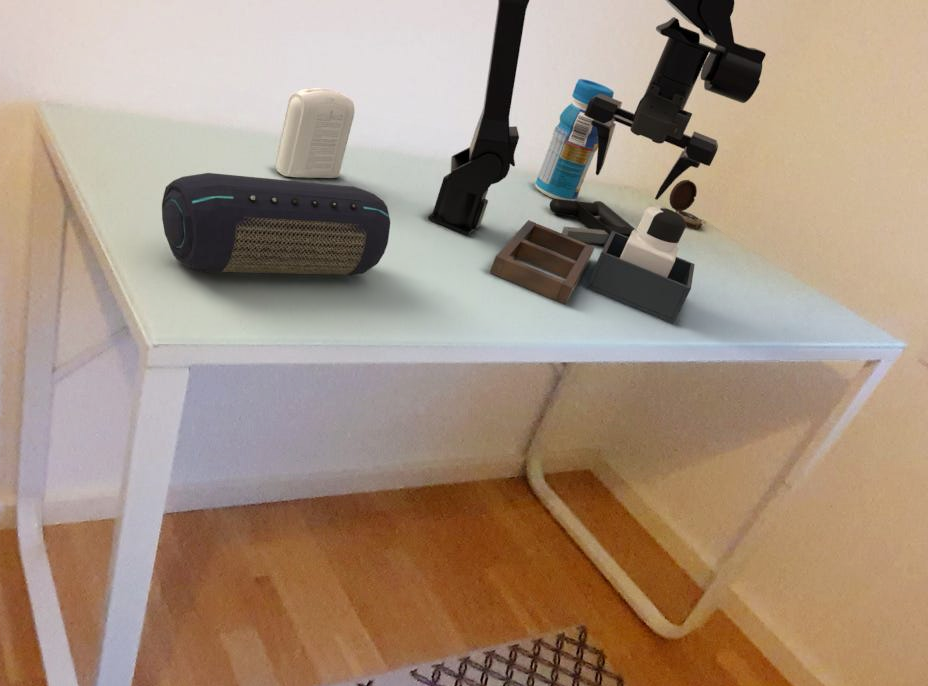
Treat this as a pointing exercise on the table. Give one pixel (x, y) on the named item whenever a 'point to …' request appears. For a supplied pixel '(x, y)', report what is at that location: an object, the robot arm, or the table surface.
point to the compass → (685, 202)
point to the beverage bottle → (571, 146)
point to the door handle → (591, 220)
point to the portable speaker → (273, 225)
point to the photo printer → (315, 134)
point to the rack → (543, 261)
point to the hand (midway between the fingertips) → (626, 186)
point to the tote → (641, 282)
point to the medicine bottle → (655, 240)
